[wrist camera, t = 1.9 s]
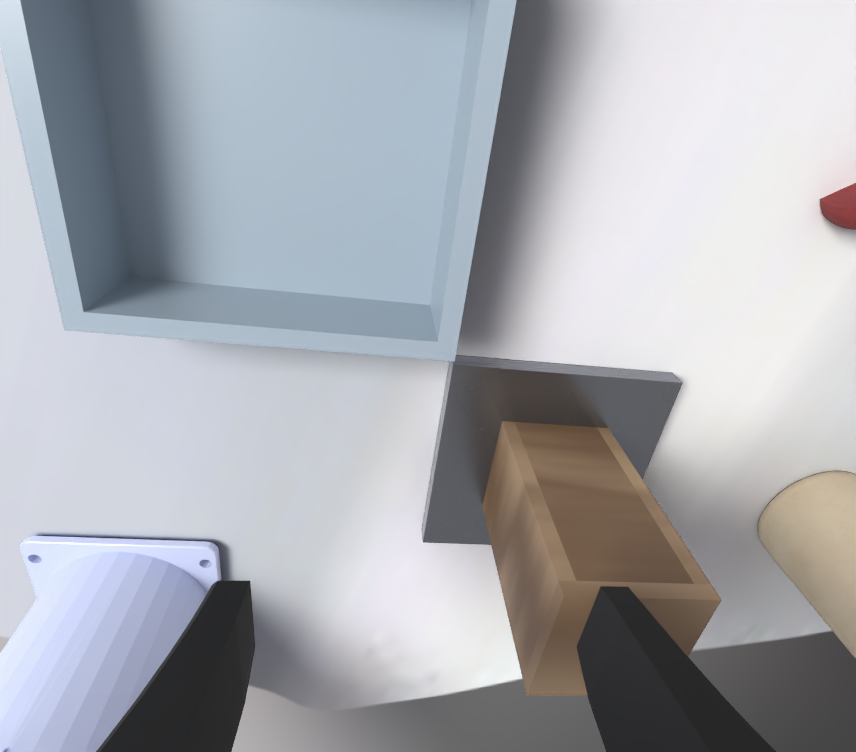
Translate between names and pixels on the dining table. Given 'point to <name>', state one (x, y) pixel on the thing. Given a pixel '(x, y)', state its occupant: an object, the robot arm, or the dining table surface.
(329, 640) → the dining table surface
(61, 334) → the dining table surface
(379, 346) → the bin
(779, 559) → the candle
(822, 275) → the dining table surface
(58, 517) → the dining table surface
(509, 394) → the base
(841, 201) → the pliers
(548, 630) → the brown block
